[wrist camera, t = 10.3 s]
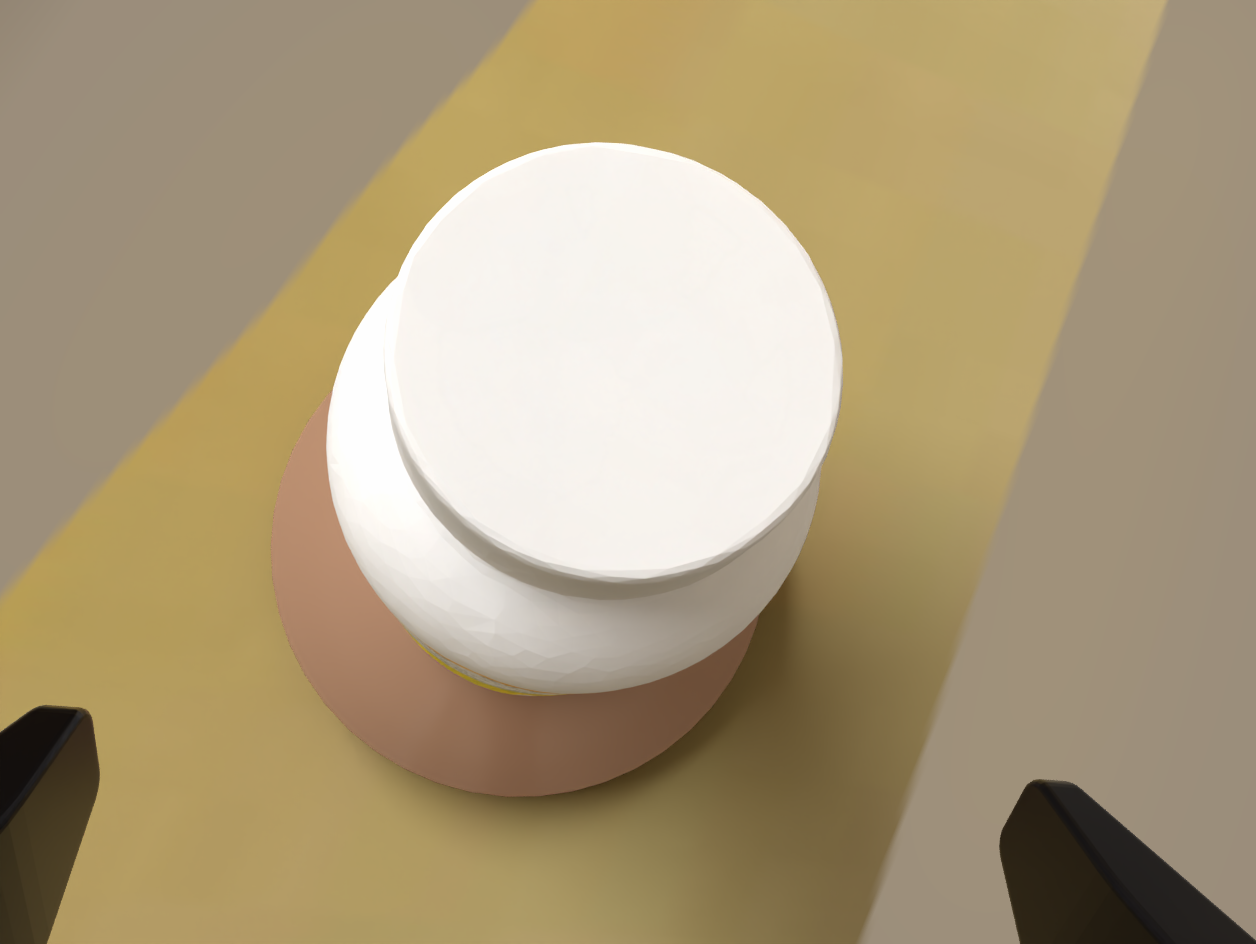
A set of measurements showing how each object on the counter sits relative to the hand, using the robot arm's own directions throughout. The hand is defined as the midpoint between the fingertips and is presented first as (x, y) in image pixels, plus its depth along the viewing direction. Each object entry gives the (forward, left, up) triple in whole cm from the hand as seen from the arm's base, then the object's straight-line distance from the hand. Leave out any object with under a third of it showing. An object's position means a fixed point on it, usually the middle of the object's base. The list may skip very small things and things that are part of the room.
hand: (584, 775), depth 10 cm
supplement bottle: (+4, 0, -12) cm, 13 cm away
